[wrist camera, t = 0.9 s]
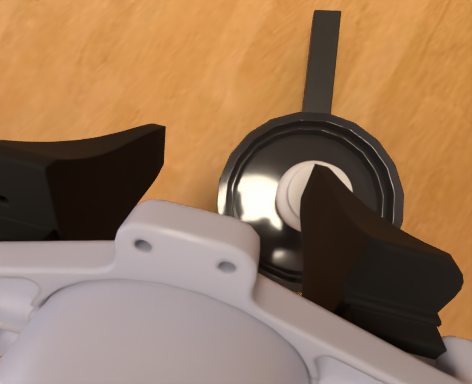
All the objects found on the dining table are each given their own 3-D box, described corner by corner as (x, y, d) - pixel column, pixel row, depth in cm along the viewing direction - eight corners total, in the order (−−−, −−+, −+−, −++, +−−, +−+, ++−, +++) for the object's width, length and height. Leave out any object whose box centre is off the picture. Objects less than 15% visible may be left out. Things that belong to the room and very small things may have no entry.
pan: (408, 266, 26) (427, 272, 23) (242, 298, 28) (239, 309, 24) (362, 106, 28) (374, 91, 25) (209, 145, 29) (201, 137, 26)
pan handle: (327, 122, 26) (330, 117, 25) (301, 120, 26) (302, 115, 25) (338, 19, 27) (341, 10, 26) (312, 18, 27) (314, 9, 26)
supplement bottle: (316, 165, 27) (340, 136, 18) (342, 216, 27) (381, 214, 17) (265, 188, 28) (262, 173, 18) (289, 239, 27) (299, 250, 18)
